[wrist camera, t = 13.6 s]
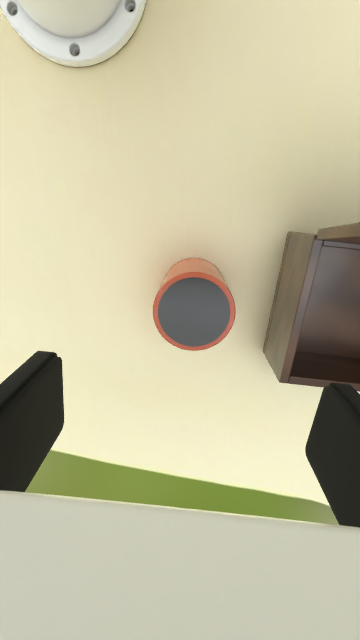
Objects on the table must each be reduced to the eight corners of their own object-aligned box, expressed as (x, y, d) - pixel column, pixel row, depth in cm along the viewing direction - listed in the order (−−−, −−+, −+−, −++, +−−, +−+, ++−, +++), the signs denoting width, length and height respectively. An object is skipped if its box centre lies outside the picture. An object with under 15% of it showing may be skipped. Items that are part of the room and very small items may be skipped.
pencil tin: (153, 298, 32) (138, 326, 23) (182, 246, 30) (178, 255, 21) (203, 327, 33) (207, 364, 24) (235, 277, 31) (252, 299, 22)
